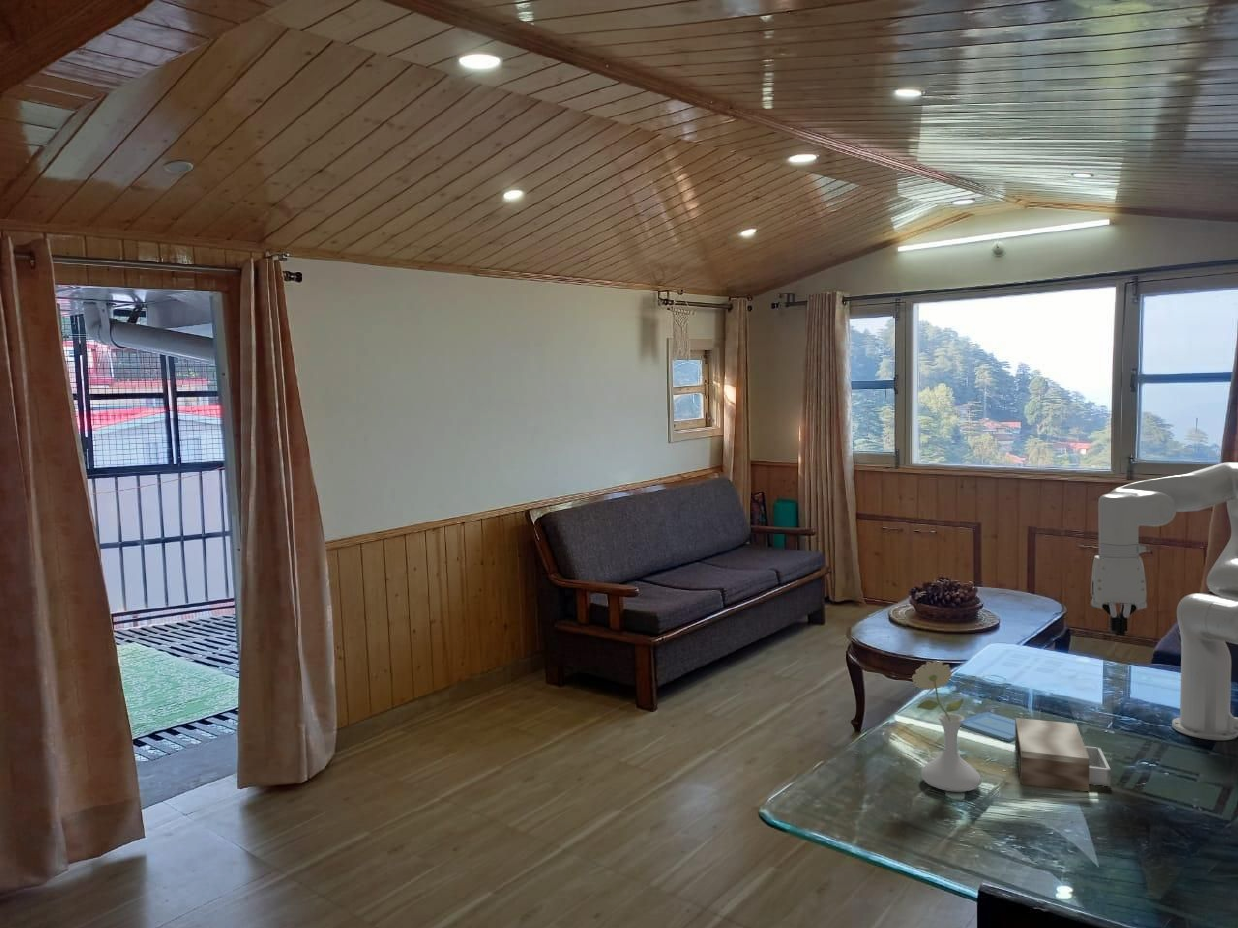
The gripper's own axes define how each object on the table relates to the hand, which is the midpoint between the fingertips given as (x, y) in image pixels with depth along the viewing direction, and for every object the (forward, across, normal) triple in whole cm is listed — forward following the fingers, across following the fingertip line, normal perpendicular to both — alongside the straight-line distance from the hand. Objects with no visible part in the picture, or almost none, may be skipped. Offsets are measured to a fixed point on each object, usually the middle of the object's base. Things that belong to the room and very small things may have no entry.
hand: (1118, 634), depth 192 cm
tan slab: (+25, +16, +17) cm, 34 cm away
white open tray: (+25, +13, +17) cm, 33 cm away
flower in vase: (+24, +37, +31) cm, 54 cm away
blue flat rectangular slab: (+25, +24, -6) cm, 36 cm away
